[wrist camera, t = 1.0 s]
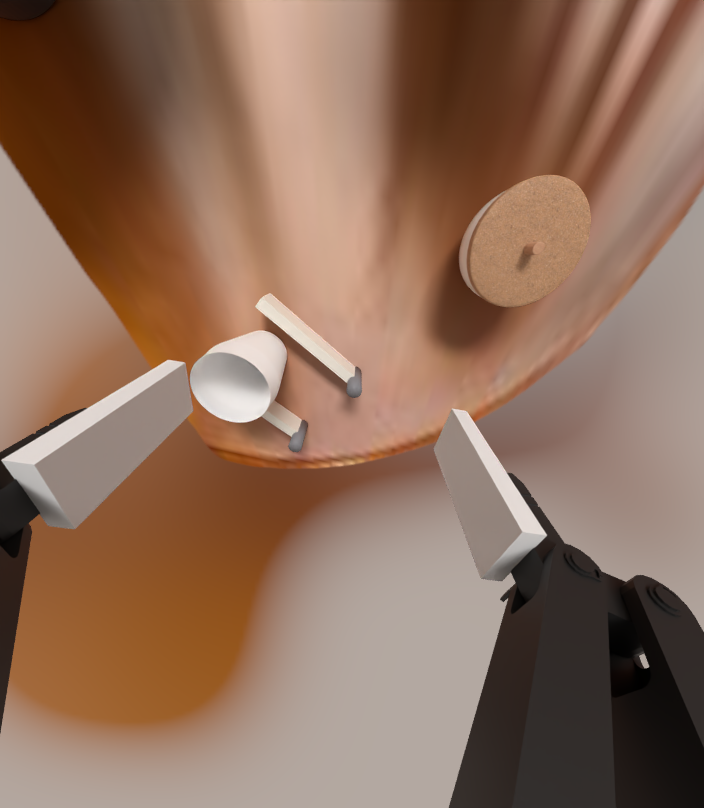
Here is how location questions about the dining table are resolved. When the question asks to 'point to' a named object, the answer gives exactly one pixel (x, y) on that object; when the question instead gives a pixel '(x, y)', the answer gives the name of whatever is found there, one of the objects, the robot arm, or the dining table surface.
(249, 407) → the cup
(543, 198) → the lidded jar
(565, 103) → the dining table surface
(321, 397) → the dining table surface
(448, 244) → the dining table surface
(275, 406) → the pair of white bars
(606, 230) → the dining table surface
